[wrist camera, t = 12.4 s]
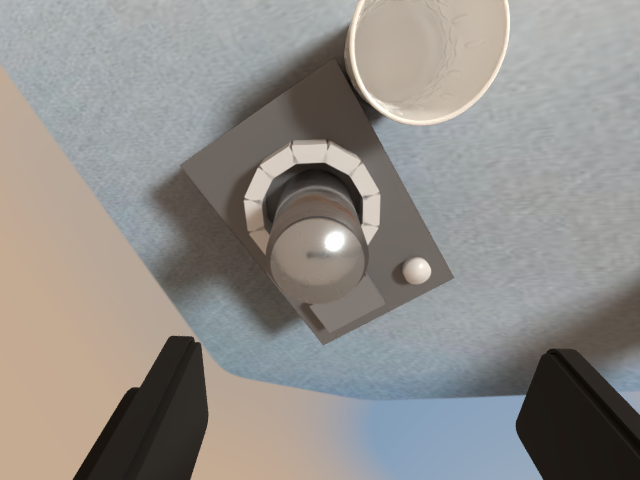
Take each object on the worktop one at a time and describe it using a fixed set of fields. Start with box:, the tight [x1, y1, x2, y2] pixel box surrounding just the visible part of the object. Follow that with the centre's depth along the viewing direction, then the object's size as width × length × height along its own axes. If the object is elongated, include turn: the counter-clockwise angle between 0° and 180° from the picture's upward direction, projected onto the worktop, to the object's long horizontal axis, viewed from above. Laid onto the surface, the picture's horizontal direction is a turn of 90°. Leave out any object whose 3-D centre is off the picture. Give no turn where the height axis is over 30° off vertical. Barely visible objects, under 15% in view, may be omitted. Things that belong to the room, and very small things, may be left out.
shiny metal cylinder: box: [266, 169, 369, 304], centre depth 21 cm, size 5×5×9 cm
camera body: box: [180, 58, 454, 345], centre depth 27 cm, size 18×12×8 cm, turn 32°
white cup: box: [344, 0, 510, 126], centre depth 22 cm, size 8×8×10 cm
